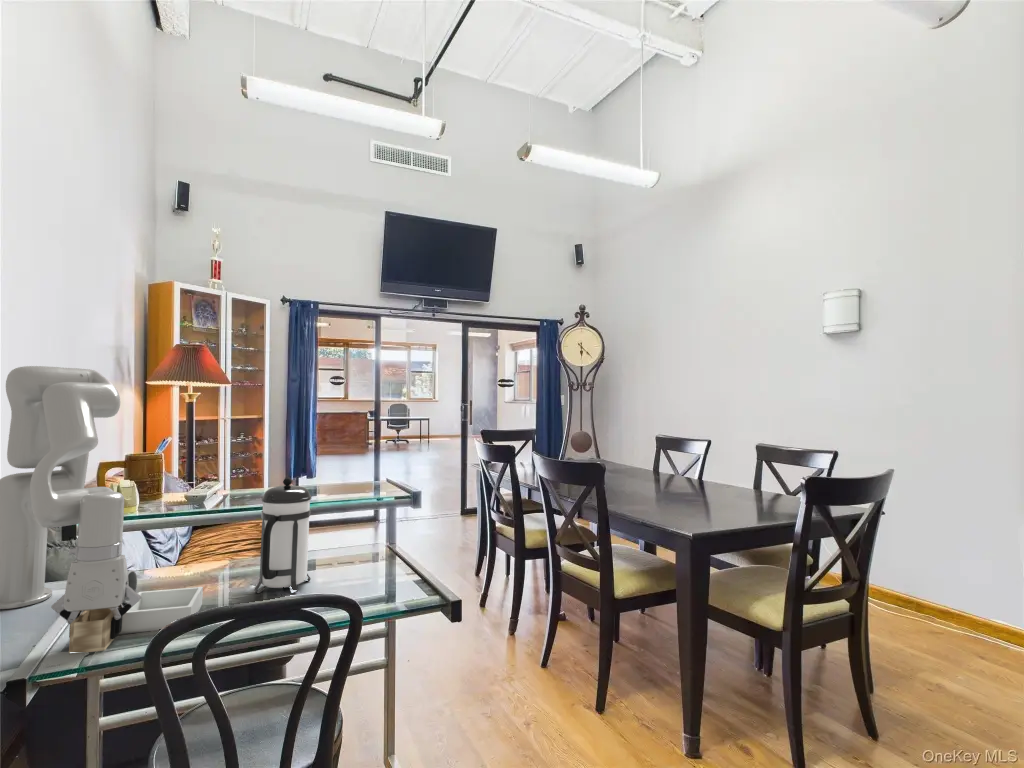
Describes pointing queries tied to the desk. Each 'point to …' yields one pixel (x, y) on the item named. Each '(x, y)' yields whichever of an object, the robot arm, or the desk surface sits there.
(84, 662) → the desk surface
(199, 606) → the grey crate
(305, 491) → the coffee press
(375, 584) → the desk surface
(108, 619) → the birch crate
